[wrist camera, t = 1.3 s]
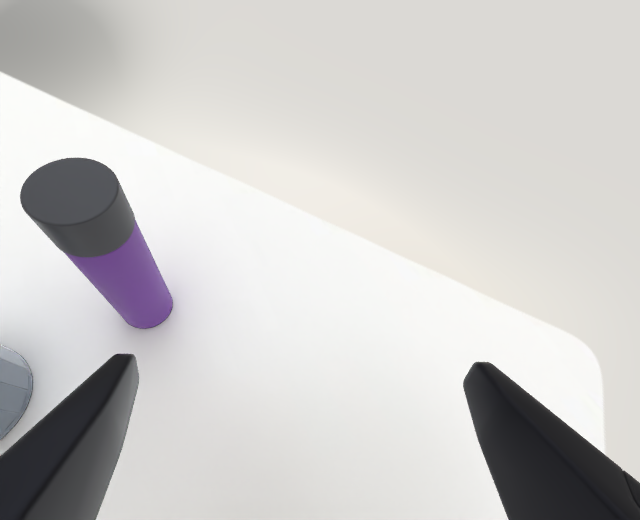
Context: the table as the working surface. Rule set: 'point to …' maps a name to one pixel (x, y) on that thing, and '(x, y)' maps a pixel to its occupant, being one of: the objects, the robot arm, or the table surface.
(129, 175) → the table surface
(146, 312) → the glue stick
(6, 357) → the pen holder
